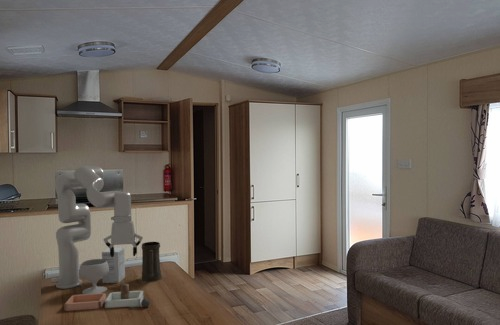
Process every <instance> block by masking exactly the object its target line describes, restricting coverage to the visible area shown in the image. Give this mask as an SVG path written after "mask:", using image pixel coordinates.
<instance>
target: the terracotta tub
mask: <svg viewBox="0 0 500 325" xmlns="http://www.w3.org/2000/svg"><path fill="white" fill-rule="evenodd" d="M106 299H107V292H102V293H97V294H83V293H82V294H72V295H71V296H70V298H68V300H66V302H65V303H64V311H65V312H66V311H67V312H68V311H69V312H70V311H82V310H95V309H96V310H98V309H102V307H103V306H104V305H105V300H106Z"/></svg>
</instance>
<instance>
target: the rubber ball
mask: <svg viewBox="0 0 500 325" xmlns="http://www.w3.org/2000/svg"><path fill="white" fill-rule="evenodd" d="M150 304H151V301H150V299H148V298H143V300H142V302H141V306H142V307H143V308H146V307H149V305H150Z"/></svg>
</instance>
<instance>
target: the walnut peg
mask: <svg viewBox="0 0 500 325" xmlns="http://www.w3.org/2000/svg"><path fill="white" fill-rule="evenodd" d="M129 287H130V284H129V283H122V284H121V285H120V292H121V300H122V299H129V291H130V288H129Z"/></svg>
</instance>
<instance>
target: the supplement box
mask: <svg viewBox="0 0 500 325" xmlns="http://www.w3.org/2000/svg"><path fill="white" fill-rule="evenodd" d="M101 259H104V260H106V261H107V263H108V266H109V272H108V273H107V275H106V276H104V277H103V278H102V283H104V284H105V283H109V284H110V283H111V284H113V283H115V284H118V283H120V282H122V281H123V279H125V278H126V270H125V269H126V267H125V264H126V263H125V247H114V256H113V257H111V255H110V248H109V247H107V248H106V249H104V251H102V252H101Z"/></svg>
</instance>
